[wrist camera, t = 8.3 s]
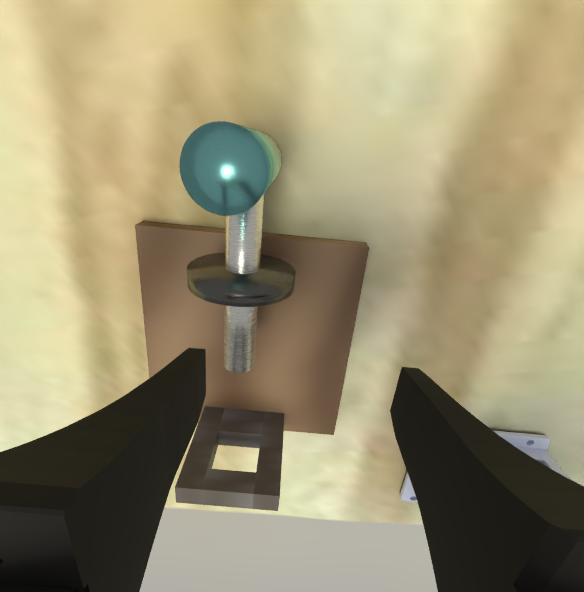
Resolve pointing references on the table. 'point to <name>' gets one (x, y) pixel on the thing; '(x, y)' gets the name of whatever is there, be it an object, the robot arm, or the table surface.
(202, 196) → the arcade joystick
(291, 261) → the eye stand
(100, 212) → the table surface
